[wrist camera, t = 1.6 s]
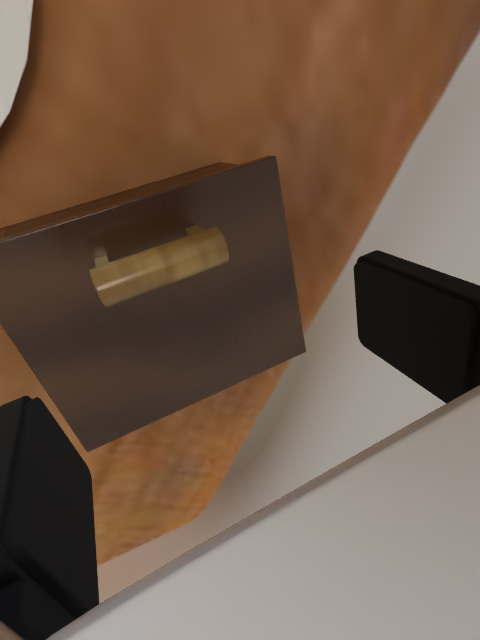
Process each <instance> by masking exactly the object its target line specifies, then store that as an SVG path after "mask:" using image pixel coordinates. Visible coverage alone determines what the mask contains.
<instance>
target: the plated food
mask: <svg viewBox="0 0 480 640" xmlns="http://www.w3.org/2000/svg"><path fill="white" fill-rule="evenodd" d="M32 10H33V0H0V128H1V126H2V125H3V123H4V121H5V120H6V118H7V117H8V115H9V114H10V112H11V109H12V106H13V103H14V100H15V97H16V94H17V91H18V88H19V85H20V82H21V79H22V76H23V73H24V70H25V67H26V64H27V60H28V50H29V40H30V30H31V20H32Z"/></svg>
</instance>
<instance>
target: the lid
mask: <svg viewBox="0 0 480 640" xmlns="http://www.w3.org/2000/svg"><path fill="white" fill-rule="evenodd" d="M0 324H1V325H2V327H3V328H4V330H5V331H6V333H7V334H8V336H9V337H10V339H11V340H12V342H13V343H14V344H15V346H16V347H17V349H18V350H19V352H20V353H21V355H22V356H23V358H24V359H25V361H26V362H27V364H28V365H29V367H30V368H31V370H32V371H33V373H34V374H35V376H36V377H37V378H38V380H39V381H40V383H41V384H42V386H43V387H44V389H45V390H46V392H47V393H48V395H49V396H50V398H51V399H52V401H53V402H54V404H55V405H56V407H57V408H58V410H59V411H60V412H61V414H62V415H63V417H64V418H65V420H66V421H67V423H68V424H69V426H70V427H71V429H72V430H73V432H74V433H75V435H76V436H77V438H78V439H79V441H80V442H81V444H82V445H83V446H84V448H85V449H86V451H87V452H89V451H91V450H94V449H96V448H98V447H100V446H102V445H104V444H107V443H109V442H111V441H113V440H115V439H117V438H120V437H122V436H124V435H126V434H128V433H130V432H133V431H135V430H137V429H139V428H141V427H143V426H146V425H148V424H150V423H152V422H154V421H157V420H159V419H161V418H163V417H165V416H167V415H170V414H172V413H174V412H176V411H178V410H180V409H183V408H185V407H187V406H189V405H191V404H193V403H196V402H198V401H200V400H202V399H204V398H206V397H209V396H211V395H213V394H215V393H217V392H219V391H222V390H224V389H226V388H228V387H230V386H233V385H235V384H237V383H239V382H241V381H243V380H246V379H248V378H250V377H252V376H254V375H256V374H259V373H261V372H263V371H265V370H267V369H269V368H272V367H274V366H276V365H278V364H280V363H282V362H285V361H287V360H289V359H291V358H293V357H295V356H298V355H300V354H302V353H304V352H306V350H305V349H306V348H305V343H304V336H303V329H302V323H301V316H300V310H299V303H298V297H297V290H296V284H295V277H294V271H293V264H292V258H291V251H290V245H289V238H288V232H287V225H286V219H285V212H284V206H283V199H282V193H281V186H280V180H279V173H278V167H277V160H276V156H266V157H263V158H260V159H257V160H253V161H250V162H247V163H244V164H240V165H237V166H234V167H231V168H227V169H224V170H221V171H218V172H214V173H211V174H208V175H205V176H201V177H198V178H195V179H192V180H188V181H185V182H182V183H179V184H175V185H172V186H169V187H166V188H162V189H159V190H156V191H153V192H149V193H146V194H143V195H140V196H136V197H133V198H130V199H127V200H123V201H120V202H117V203H114V204H110V205H107V206H104V207H101V208H97V209H94V210H91V211H88V212H84V213H81V214H78V215H75V216H71V217H68V218H65V219H62V220H59V221H55V222H52V223H49V224H46V225H42V226H39V227H36V228H33V229H29V230H26V231H23V232H20V233H16V234H13V235H10V236H7V237H3V238H0Z"/></svg>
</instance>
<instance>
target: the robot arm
mask: <svg viewBox="0 0 480 640" xmlns="http://www.w3.org/2000/svg"><path fill="white" fill-rule="evenodd" d="M354 280H355V295H356V309H357V324H358V337H359V340H360V342H361V343H362V345H363V346H364V347H366V348H367V349H369V350H370V351H372V352H373V353H374V354H376V355H377V356H379V357H380V358H382V359H383V360H385V361H386V362H387V363H389V364H390V365H392V366H393V367H395V368H396V369H398V370H399V371H400V372H402V373H403V374H405V375H406V376H408V377H409V378H411V379H412V380H413V381H415V382H416V383H418V384H419V385H421V386H422V387H423V388H425V389H426V390H428V391H429V392H431V393H432V394H434V395H435V396H437V397H438V398H439V399H441V400H442V401H444V402H445V403H447V404H445V405H444V406H442V407H440V408H438V409H436V410H435V411H433V412H431V413H429V414H427V415H426V416H424V417H422V418H420V419H419V420H417V421H415V422H413V423H411V424H410V425H408V426H406V427H404V428H403V429H401V430H399V431H397V432H396V433H394V434H392V435H390V436H389V437H387V438H385V439H383V440H381V441H380V442H378V443H376V444H374V445H373V446H371V447H369V448H367V449H365V450H364V451H362V452H360V453H358V454H357V455H355V456H353V457H352V458H350V459H348V460H346V461H344V462H343V463H341V464H339V465H337V466H336V467H334V468H332V469H330V470H329V471H327V472H325V473H323V474H322V475H320V476H318V477H316V478H315V479H313V480H311V481H309V482H308V483H306V484H304V485H302V486H301V487H299V488H297V489H295V490H294V491H292V492H290V493H288V494H287V495H285V496H283V497H282V498H280V499H278V500H276V501H275V502H273V503H271V504H269V505H268V506H266V507H264V508H262V509H261V510H259V511H257V512H255V513H254V514H252V515H250V516H248V517H247V518H245V519H243V520H241V521H240V522H238V523H236V524H235V525H233V526H231V527H229V528H228V529H226V530H224V531H223V532H221V533H219V534H218V535H216V536H214V537H212V538H210V539H208V540H207V541H205V542H203V543H202V544H200V545H199V546H196V547H195V548H193V549H191V550H189V551H188V552H186V553H184V554H182V555H181V556H179V557H177V558H176V559H174V560H172V561H171V562H169V563H167V564H166V565H164V566H162V567H161V568H159V569H157V570H156V571H154V572H152V573H151V574H149V575H147V576H146V577H144V578H143V579H141V580H139V581H137V582H136V583H134V584H132V585H130V586H129V587H127V588H125V589H124V590H122V591H120V592H119V593H117V594H115V595H114V596H112V597H110V598H109V599H107V600H105V601H104V602H102V603H100V604H99V594H98V576H97V560H96V543H95V527H94V510H93V494H92V479H91V474H90V471H89V468H88V466H87V465H86V463H85V462H84V460H83V459H82V457H81V456H80V455H79V453H78V452H77V450H76V449H75V447H74V446H73V445H72V443H71V442H70V440H69V439H68V437H67V436H66V435H65V433H64V432H63V430H62V429H61V427H60V426H59V424H58V423H57V422H56V420H55V419H54V417H53V416H52V414H51V413H50V412H49V410H48V409H47V407H46V406H45V404H44V403H43V402H42V400H41V399H40V398H38V397H36V398H34V399H31V398H30V397H29V396H23V397H21V398H19V399H16V400H14V401H11V402H9V403H6V404H4V405H2V406H0V640H480V286H479V285H476V284H473V283H470V282H468V281H464V280H462V279H459V278H456V277H453V276H450V275H448V274H445V273H442V272H439V271H436V270H433V269H430V268H427V267H425V266H422V265H419V264H415V263H413V262H410V261H407V260H404V259H402V258H399V257H396V256H393V255H390V254H387V253H384V252H381V251H377V250H376V251H373V252H371V253H368V254H366V255H364V256H361V257H359V258H358V260H357V263H356V264H355V266H354Z"/></svg>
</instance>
